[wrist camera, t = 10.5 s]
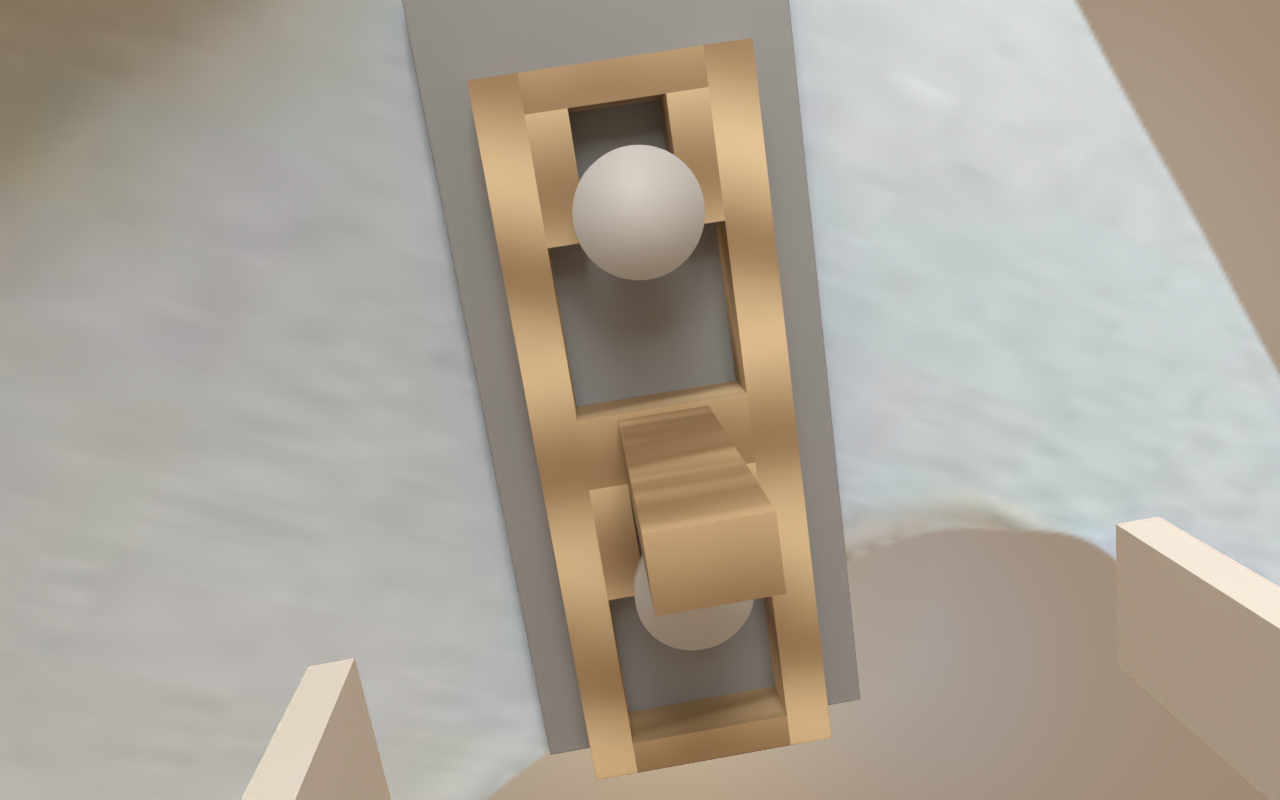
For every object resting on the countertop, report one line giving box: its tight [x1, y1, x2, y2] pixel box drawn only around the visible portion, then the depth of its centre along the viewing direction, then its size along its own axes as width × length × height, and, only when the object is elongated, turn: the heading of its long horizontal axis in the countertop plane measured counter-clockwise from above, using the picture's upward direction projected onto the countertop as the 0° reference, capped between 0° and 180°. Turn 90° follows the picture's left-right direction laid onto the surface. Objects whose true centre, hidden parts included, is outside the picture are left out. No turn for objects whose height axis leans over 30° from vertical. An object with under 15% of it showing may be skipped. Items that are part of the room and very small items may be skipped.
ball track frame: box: [467, 38, 831, 780], centre depth 26 cm, size 24×9×12 cm, turn 8°
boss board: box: [402, 0, 860, 755], centre depth 30 cm, size 27×12×5 cm, turn 8°
